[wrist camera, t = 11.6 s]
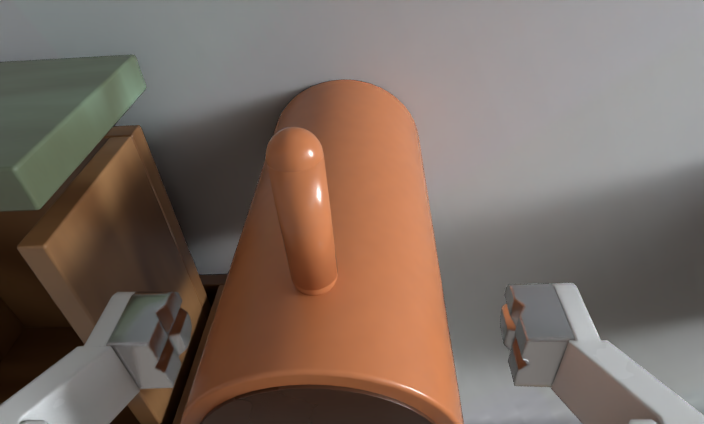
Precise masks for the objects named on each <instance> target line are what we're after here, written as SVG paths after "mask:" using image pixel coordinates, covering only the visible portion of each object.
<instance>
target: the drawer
mask: <svg viewBox="0 0 704 424" xmlns="http://www.w3.org/2000/svg"><path fill="white" fill-rule="evenodd" d="M145 89H146V84H145V81H144V78H143V76H142V73H141V70H140V67H139V65H138V62H137V59H136V57H135V55H118V56H100V57H82V58H64V59H46V60H29V61H11V62H0V405H1V404H2V403H3V402H5V401H6V400H7V399H8V398H10V397H11V396H12V395H14V394H15V393H16V392H18V391H19V390H20V389H22V388H23V387H24V386H26V385H27V384H28V383H30V382H31V381H32V380H34V379H35V378H36V377H38V376H39V375H40V374H42V373H43V372H44V371H46V370H47V369H48V368H50V367H51V366H52V365H54V364H55V363H56V362H58V361H59V360H60V359H62V358H63V357H64V356H66V355H67V354H68V353H70V352H71V351H72V350H74V349H75V348H76V347H78V346H84V345H85V343H86V341H87V339H88V338H89V336H90V334H91V332H92V330H93V329H94V327H95V325H96V323H97V321H98V320H99V318H100V316H101V314H102V313H103V311H104V309H105V307H106V305H107V304H108V302H109V300H110V298H111V297H112V296H113V295H114V294H115V293H117V292H136V291H144V292H178V293H179V295H180V297H181V299H182V303H181V306H180V307H181V308H182V309H184V310H185V311H187V312H188V314H189V316H190V319H191V325H192V330H191V339H190V342H189V345H188V348H187V349H186V350H185V351H184V352H183V353H182V354H180V355H179V358H180V361H181V363H182V365H181V368H180V370H179V373H178V376H177V379H176V381H175V384H174V387H173V388H153V389H140V392H139V393H138V394H137V395H136V396H135V397H134V398H133V399H132V400H131V401H130V402H129V403H128V404H127V406H126V407H125V408H124V409H123V410H122V411H121V412H120V413H119V414H118V415H117V416H116V417H115V418H114V419H113V420H112V422H111V423H110V424H173V421H174V418H175V415H176V412H177V409H178V406H179V403H180V400H181V397H182V394H183V391H184V388H185V385H186V382H187V379H188V376H189V373H190V370H191V367H192V364H193V361H194V358H195V355H196V352H197V349H198V347H199V344H200V341H201V338H202V335H203V332H204V329H205V326H206V323H207V320H208V317H209V314H210V311H211V305H210V302H209V300H208V297H207V295H206V292H205V290H204V287H203V285H202V282H201V279H200V277H199V274H198V272H197V269H196V267H195V264H194V262H193V259H192V256H191V254H190V251H189V249H188V246H187V244H186V241H185V239H184V236H183V233H182V231H181V228H180V226H179V223H178V221H177V218H176V216H175V213H174V211H173V208H172V205H171V203H170V200H169V198H168V195H167V193H166V190H165V188H164V185H163V182H162V180H161V177H160V175H159V172H158V170H157V167H156V165H155V162H154V159H153V157H152V154H151V152H150V149H149V147H148V144H147V142H146V139H145V136H144V134H143V131H142V129H141V126H139V125H132V126H114V125H115V124H116V123H117V121H118V120H119V119H120V118H121V117H122V116H123V115H124V113H125V112H126V111H127V110H128V109H129V108H130V107H131V105H132V104H133V103H134V102H135V101H136V100H137V99H138V97H139V96H140V95H141V94H142V93H143V92H144V91H145Z"/></svg>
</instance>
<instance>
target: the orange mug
mask: <svg viewBox="0 0 704 424" xmlns="http://www.w3.org/2000/svg"><path fill="white" fill-rule="evenodd" d="M265 157H266V158H265V161H264V164H263V167H262V170H261V174H260V177H259V180H258V183H257V186H256V189H255V192H254V195H253V198H252V201H251V205H250V208H249V211H248V214H247V217H246V220H245V223H244V226H243V229H242V232H241V236H240V239H239V242H238V245H237V248H236V251H235V254H234V257H233V260H232V263H231V266H230V270H229V273H228V276H227V279H226V282H225V285H224V288H223V291H222V294H221V297H220V301H219V304H218V307H217V310H216V313H215V316H214V319H213V322H212V325H211V328H210V331H209V335H208V338H207V341H206V344H205V347H204V350H203V353H202V356H201V359H200V362H199V366H198V369H197V372H196V375H195V378H194V381H193V384H192V387H191V390H190V393H189V396H188V400H187V403H186V406H185V409H184V412H183V415H182V418H181V421H180V424H464V421H463V414H462V408H461V402H460V395H459V389H458V383H457V376H456V370H455V364H454V357H453V351H452V345H451V338H450V332H449V326H448V319H447V313H446V307H445V300H444V294H443V288H442V281H441V275H440V269H439V262H438V256H437V250H436V243H435V237H434V231H433V225H432V218H431V212H430V206H429V199H428V193H427V187H426V180H425V174H424V168H423V161H422V155H421V149H420V142H419V136H418V131H417V128H416V125H415V122H414V120H413V118H412V116H411V115H410V113H409V111H408V110H407V109H406V107H405V106H404V105H403V104H402V103H401V102H400V101H399V100H398V99H397V98H396V97H394V96H393V95H392V94H390V93H389V92H387V91H385V90H384V89H382V88H380V87H377V86H375V85H372V84H369V83H366V82H362V81H355V80H334V81H328V82H324V83H320V84H317V85H315V86H312V87H310V88H308V89H306V90H304V91H303V92H301V93H300V94H298V95H297V96H296V97H294V98H293V99H292V100H291V101H290V102H289V103H288V104H287V106H286V107H285V109H284V110H283V111H282V113H281V115H280V117H279V119H278V121H277V124H276V127H275V130H274V133H273V136H272V138H271V139H270V141H269V143H268V145H267V147H266V154H265Z"/></svg>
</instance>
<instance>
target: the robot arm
mask: <svg viewBox="0 0 704 424" xmlns="http://www.w3.org/2000/svg"><path fill="white" fill-rule="evenodd" d="M504 296H505V299H506V304H505V305H504V306H502V308H501V315H500V328H501V335H502V339H503V343H504V345H505V346H506V347H507V348H508V349H509V350H510V355H509V359H508V363H509V367H510V371H511V374H512V378H513V382H514V386H535V387H552V388H551V389H552V390H553V391H554V392H555V393H556V395H557V396H558V397H559V398H560V399H561V400H562V401H563V402H564V403H565V405H566V406H567V407H568V408H569V409H570V410H571V411H572V412H573V413H574V415H575V416H576V417H577V418H578V419H579V420H580V421H581V422H582V423H583V424H704V415H703V414H701V413H700V412H699V411H698V410H696V409H695V408H694V407H692V406H691V405H690V404H689V403H687V402H686V401H685V400H683V399H682V398H681V397H680V396H678V395H677V394H676V393H675V392H673V391H672V390H671V389H669V388H668V387H667V386H666V385H664V384H663V383H662V382H660V381H659V380H658V379H657V378H655V377H654V376H653V375H651V374H650V373H649V372H648V371H646V370H645V369H644V368H643V367H641V366H640V365H639V364H637V363H636V362H635V361H634V360H632V359H631V358H630V357H628V356H627V355H626V354H625V353H623V352H622V351H621V350H619V349H618V348H617V347H616V346H614V345H613V344H612V343H610V342H609V341H608V340H601V339H600V337H599V335H598V333H597V330H596V328H595V326H594V324H593V322H592V319H591V317H590V315H589V313H588V311H587V308H586V306H585V304H584V302H583V300H582V297H581V295H580V293H579V291H578V289H577V286H576V285H575V284H573V283H551V284H549V283H538V284H508V285H507V287H506V289H505V294H504ZM181 303H182V299H181V297H180V295H179V293H178V292H144V291H136V292H117V293H115V294H114V295H113V296H112V297H111V298H110V300H109V302H108V304H107V305H106V307H105V309H104V311H103V313H102V314H101V316H100V318H99V320H98V321H97V323H96V325H95V327H94V329H93V330H92V332H91V334H90V336H89V338H88V339H87V341H86V343H85V345H84V346H78V347H76V348H75V349H74V350H72V351H71V352H70V353H68V354H67V355H66V356H64V357H63V358H62V359H60V360H59V361H58V362H56V363H55V364H54V365H52V366H51V367H50V368H48V369H47V370H46V371H44V372H43V373H42V374H40V375H39V376H38V377H36V378H35V379H34V380H32V381H31V382H30V383H28V384H27V385H26V386H24V387H23V388H22V389H20V390H19V391H18V392H16V393H15V394H14V395H12V396H11V397H10V398H8V399H7V400H6V401H5V402H3V403H2V404H1V405H0V424H110V423H111V422H112V420H113V419H114V418H115V417H116V416H117V415H118V414H119V413H120V412H121V411H122V410H123V409H124V408H125V407H126V406H127V404H128V403H129V402H130V401H131V400H132V399H133V398H134V397H135V396H136V395H137V394H138V393H139V392H140V389H153V388H173V387H174V384H175V381H176V379H177V376H178V373H179V370H180V368H181V365H182V363H181V361H180V358H179V355H180V354H182V353H183V352H184V351H185V350H186V349H187V348H188V345H189V342H190V339H191V330H192V325H191V319H190V316H189V314H188V312H187V311H185V310H184V309H182V308H181V307H180V306H181Z"/></svg>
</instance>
